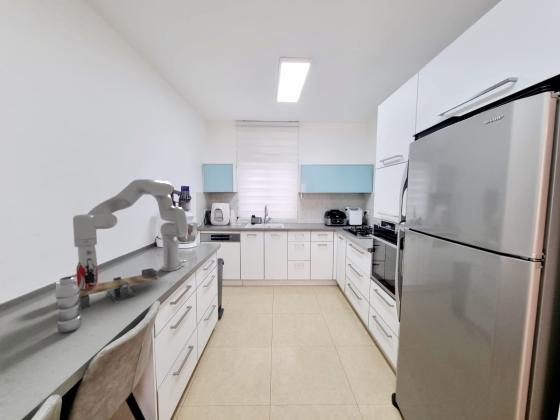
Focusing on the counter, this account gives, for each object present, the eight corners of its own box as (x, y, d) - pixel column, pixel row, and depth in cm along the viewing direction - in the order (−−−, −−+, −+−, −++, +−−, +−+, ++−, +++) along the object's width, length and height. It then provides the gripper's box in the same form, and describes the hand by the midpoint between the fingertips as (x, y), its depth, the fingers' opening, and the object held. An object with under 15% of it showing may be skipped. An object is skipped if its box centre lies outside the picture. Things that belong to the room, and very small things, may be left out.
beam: (151, 275, 123) (152, 267, 123) (157, 279, 118) (158, 270, 118) (73, 291, 98) (74, 282, 98) (77, 297, 93) (77, 287, 93)
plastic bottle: (68, 324, 84) (64, 275, 82) (86, 324, 85) (83, 274, 83) (52, 335, 78) (48, 282, 76) (72, 334, 78) (68, 281, 77)
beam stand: (126, 288, 116) (125, 274, 115) (135, 295, 108) (134, 281, 107) (76, 302, 101) (75, 287, 100) (83, 312, 93) (81, 295, 92)
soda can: (85, 291, 94) (84, 264, 93) (73, 289, 96) (71, 263, 95) (102, 284, 101) (100, 259, 100) (90, 283, 103) (88, 258, 102)
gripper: (101, 243, 94) (103, 283, 96) (91, 238, 105) (93, 273, 106) (78, 246, 89) (80, 288, 90) (70, 240, 99) (72, 278, 101)
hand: (87, 280), depth 98 cm, fingers closed on soda can, 6 cm apart
